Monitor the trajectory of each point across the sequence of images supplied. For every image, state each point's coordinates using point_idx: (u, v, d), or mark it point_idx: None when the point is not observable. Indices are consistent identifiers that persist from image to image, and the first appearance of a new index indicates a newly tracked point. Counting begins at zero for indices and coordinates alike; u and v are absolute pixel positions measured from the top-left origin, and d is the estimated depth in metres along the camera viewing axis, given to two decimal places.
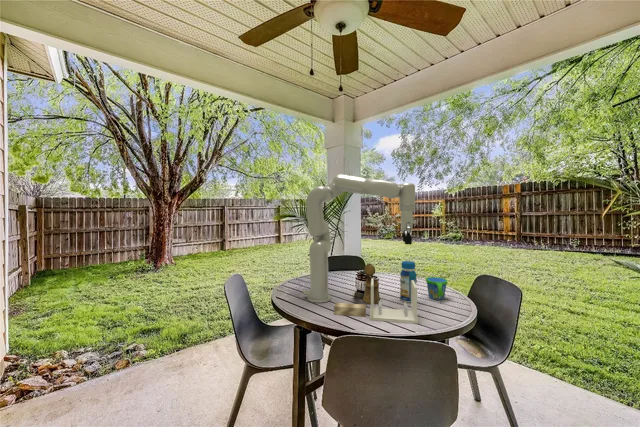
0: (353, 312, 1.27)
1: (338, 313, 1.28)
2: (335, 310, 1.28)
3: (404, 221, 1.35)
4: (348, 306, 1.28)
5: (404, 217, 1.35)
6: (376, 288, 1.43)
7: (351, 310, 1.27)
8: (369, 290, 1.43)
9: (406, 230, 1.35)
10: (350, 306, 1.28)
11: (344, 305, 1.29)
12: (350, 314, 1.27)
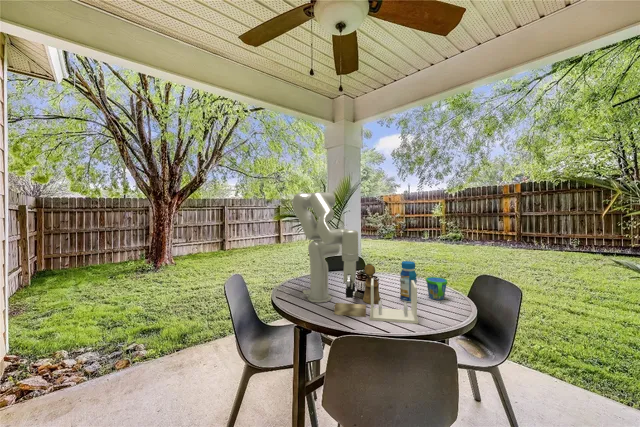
0: (354, 312, 1.27)
1: (338, 313, 1.28)
2: (335, 310, 1.28)
3: (345, 272, 1.24)
4: (348, 306, 1.28)
5: (345, 268, 1.24)
6: (376, 288, 1.43)
7: (351, 310, 1.27)
8: (369, 290, 1.43)
9: None
10: (350, 306, 1.28)
11: (344, 305, 1.29)
12: (350, 314, 1.27)
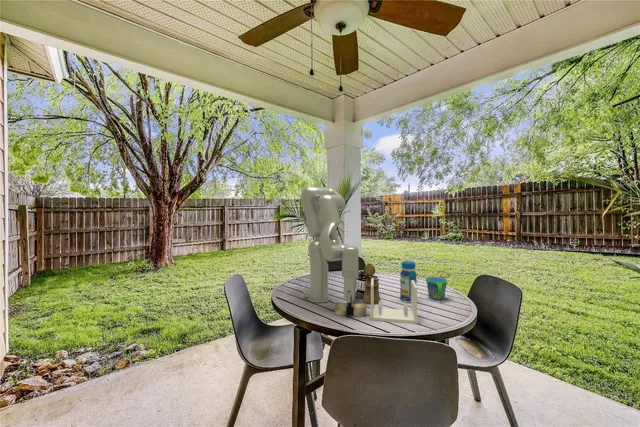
0: (354, 312, 1.26)
1: (338, 313, 1.28)
2: (335, 310, 1.28)
3: (345, 289, 1.24)
4: None
5: (345, 285, 1.25)
6: (376, 288, 1.43)
7: None
8: (369, 290, 1.43)
9: (348, 300, 1.26)
10: None
11: (344, 304, 1.29)
12: None
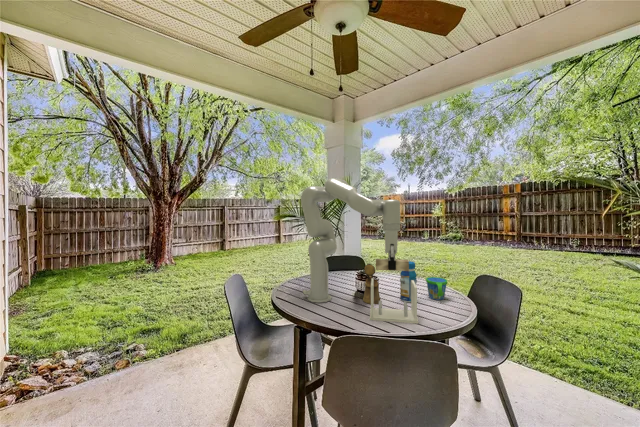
0: (396, 266, 1.22)
1: (380, 268, 1.24)
2: (376, 265, 1.24)
3: (387, 242, 1.20)
4: None
5: (387, 238, 1.20)
6: (376, 288, 1.43)
7: None
8: (369, 290, 1.43)
9: (390, 254, 1.22)
10: None
11: (385, 260, 1.25)
12: None
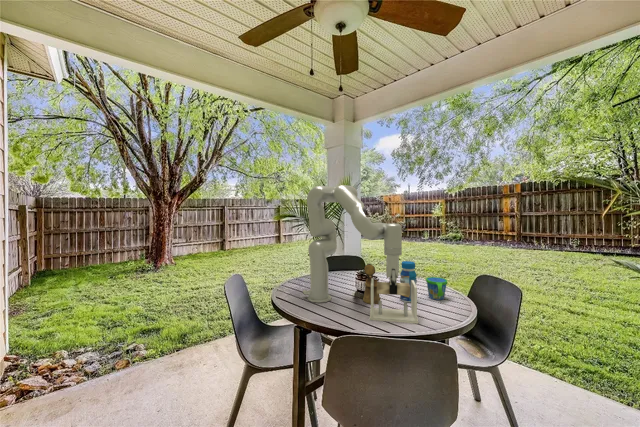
0: (397, 291, 1.22)
1: (381, 291, 1.24)
2: (378, 288, 1.24)
3: (389, 267, 1.20)
4: None
5: (389, 263, 1.21)
6: (376, 288, 1.43)
7: None
8: (369, 290, 1.43)
9: (391, 278, 1.22)
10: None
11: (387, 283, 1.25)
12: None
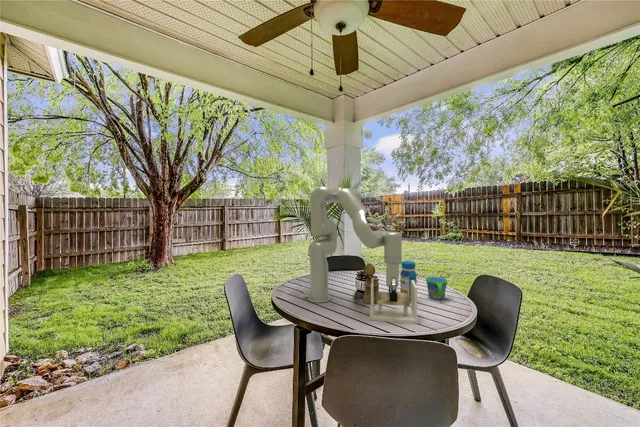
0: (397, 301, 1.23)
1: (381, 302, 1.24)
2: (378, 299, 1.24)
3: (389, 276, 1.21)
4: None
5: (389, 271, 1.21)
6: (376, 288, 1.43)
7: None
8: (369, 290, 1.43)
9: (391, 286, 1.21)
10: None
11: (386, 294, 1.25)
12: (394, 303, 1.23)
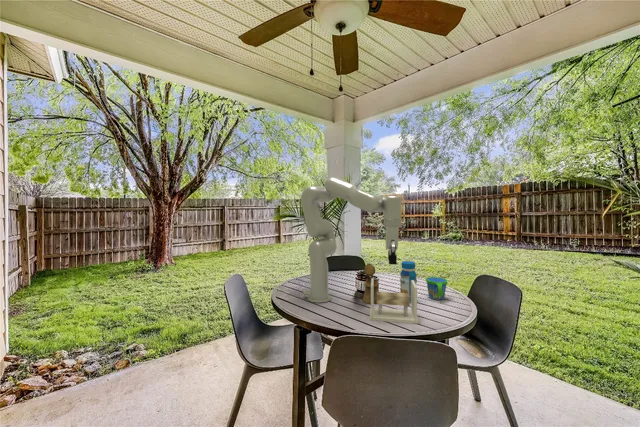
0: (397, 301, 1.23)
1: (381, 302, 1.24)
2: (378, 299, 1.24)
3: (388, 238, 1.20)
4: (391, 295, 1.24)
5: (388, 234, 1.21)
6: (376, 288, 1.43)
7: (395, 299, 1.23)
8: (369, 290, 1.43)
9: (391, 248, 1.21)
10: (393, 295, 1.24)
11: (386, 294, 1.25)
12: (394, 303, 1.23)
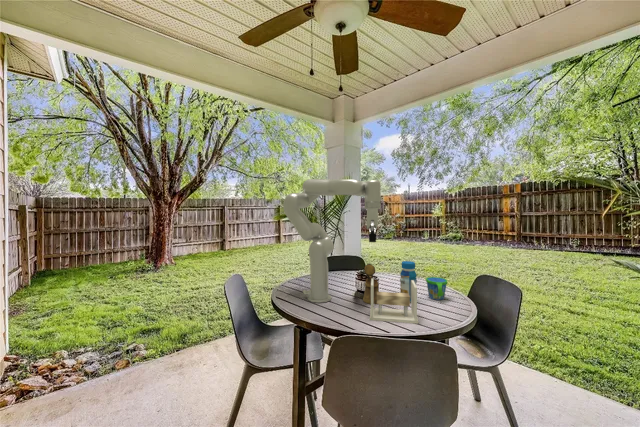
0: (397, 301, 1.23)
1: (381, 302, 1.24)
2: (378, 299, 1.24)
3: (368, 219, 1.33)
4: (391, 295, 1.24)
5: (368, 215, 1.33)
6: (376, 288, 1.43)
7: (395, 299, 1.23)
8: (369, 290, 1.43)
9: (370, 228, 1.33)
10: (393, 295, 1.24)
11: (386, 294, 1.25)
12: (394, 303, 1.23)
